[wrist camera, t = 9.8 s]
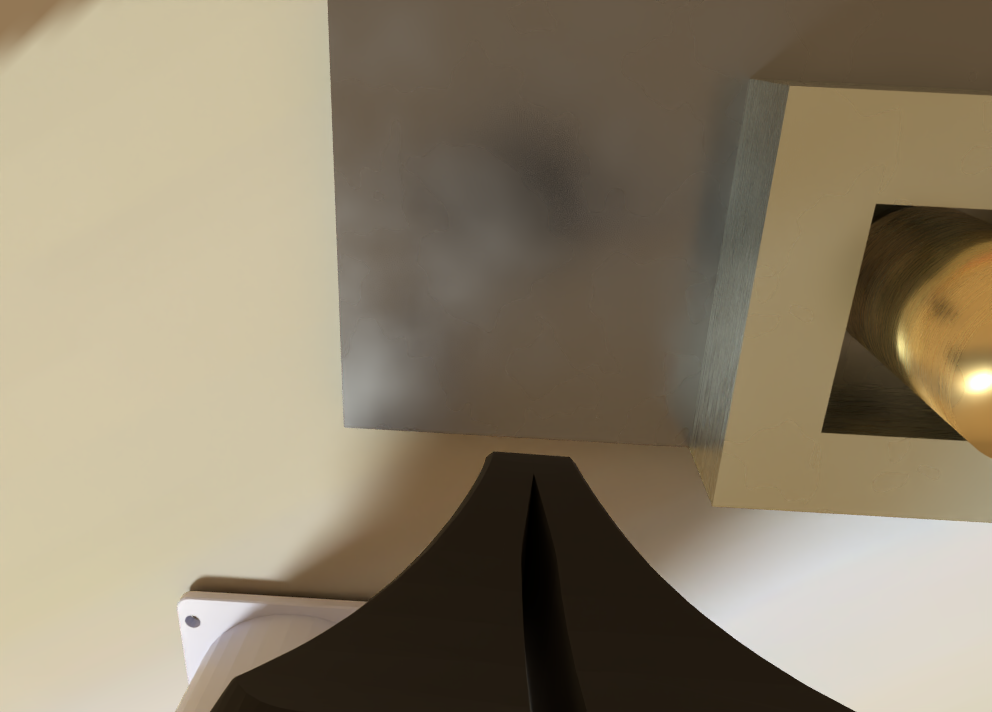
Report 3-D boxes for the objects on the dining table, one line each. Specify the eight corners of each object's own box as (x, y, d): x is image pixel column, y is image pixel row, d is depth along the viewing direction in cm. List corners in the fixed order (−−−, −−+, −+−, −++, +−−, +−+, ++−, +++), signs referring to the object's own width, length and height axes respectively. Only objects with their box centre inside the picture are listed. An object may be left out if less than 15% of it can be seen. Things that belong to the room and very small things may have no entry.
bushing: (976, 350, 20) (1148, 469, 15) (824, 354, 21) (937, 473, 15) (1007, 201, 19) (1213, 270, 13) (843, 207, 19) (976, 277, 13)
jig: (1018, 449, 23) (1114, 529, 19) (351, 411, 23) (317, 483, 19) (1211, -90, 17) (1399, -126, 13) (333, -130, 17) (281, -175, 14)
